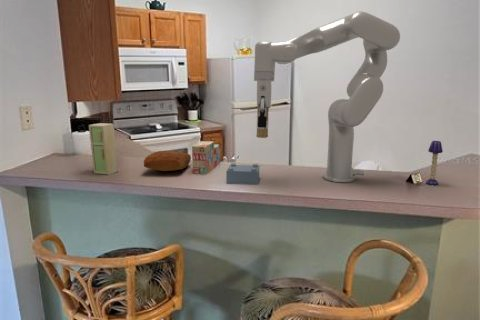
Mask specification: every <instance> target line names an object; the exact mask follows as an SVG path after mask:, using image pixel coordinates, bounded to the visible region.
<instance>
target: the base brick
mask: <svg viewBox="0 0 480 320" xmlns="http://www.w3.org/2000/svg"><path fill="white" fill-rule="evenodd" d="M258 164H259V163H252V164H236V163H235V162H231V163H230V164H229V166H228V167H227V169H226V175H225V176H226V184H239V185H258V183H259V181H260V165H258Z"/></svg>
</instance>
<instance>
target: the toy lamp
mask: <svg viewBox="0 0 480 320" xmlns="http://www.w3.org/2000/svg"><path fill="white" fill-rule="evenodd" d="M442 145H443V144H442V141H439V140H432V141H431V143H430V144H429V147H428V152H429V153H432V158H431V159H432V160H431V168H430V177H429V179H427V180H426V181H425V184H426V185H429V186H432V185H434V186H436V185H437V186H439V182H438V180H437V179H436V174H437V173H436V172H437V163H438V158H439V157H438V155H439V154H442V153H443V152H444V151H443V146H442ZM434 186H433V187H434Z"/></svg>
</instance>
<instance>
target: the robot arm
mask: <svg viewBox="0 0 480 320" xmlns="http://www.w3.org/2000/svg"><path fill="white" fill-rule="evenodd" d="M358 38H359V39H362V43H363V44H362V45H363V49H364V53H365V55H364V60H363V62H362V64H361V65H360V66H359V68H358V69H357V71H356V73H355V74H354V75H353V76H352V78H351V80H350V81H349V83H348V84H347V87H346V95H347V96H348V97H349V98H348V99H345V98H340V99H337V100H334V101H333V102H332V103H331V104H330V105H329V108H328V112H327V118H328V119H327V120H328V143H327V144H328V145H327V146H328V147H327V160H326V161H327V163H326V172H324V173H322V178H323V179H324V180H326V181H329V182H334V183H350V182H354V181H355V179H356V176H364V174H365V171H364V170H360V169H354V168H353V166H352V165H353V155H354V154H353V153H354V152H353V151H354V137H355V129H354V127H358V126H359V125H361V124H362V123H363V122H364V121H365V120H366V119H367V117H368V116H369V115H370V113H371V112H372V110H373V109H374V108H375V106H376V105H377V104H378V102H379V100H380V99H381V98H382V95H383V92H384V84H383V81H382V79H381V77H382V76H383V74H384V73H385V71H386V69H387V66H388V53H387V51H389V50H392V49H394V48H396V46H397V45H398V44H399V42H400V39H401V32H400V30H399V29H398V27H396V26H395V25H394V24H392V23H390V22H388V21H386V20H384V19H381V18H379V17H377V16H375V15H373V14H370V13H368V12H364V11H356V12H354V13H351V14H349V15H346V16H344V17H342V18H339V19H336V20H334V21H332V22H329V23H327V24H323V25H321V26H318V27H316V28H313V29H312V30H310V31H308V32H305V33H304V34H301V35H299V36H297V37H295V38H292V39H290V40H288V41H282V42H281V41H279V42H272V41H259V42H257V43H255V46H254V71H253V73H254V74H253V76H254V77H253V81H254V82H256V107H258V108H259V116H258V127H266V123H267V117H266V107H268V109H269V110H270V108H271V105H272V82H275V72H276V63H277V64H279V65H287V64H291V63H294V61H296V60H297V59H300V58H302V57H305V56H308V55H311V54H312V55H313V54H317V53H318V54H319V53H320V52H323V51H327V50H329V49H332V48H334V47H336V46H338V45H341V44H344V43H347V42H349V41H352V40H354V39H358ZM265 105H266V106H265ZM260 106H261V108H260ZM264 106H265V108H264ZM258 108H257V109H258Z"/></svg>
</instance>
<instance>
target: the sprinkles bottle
mask: <svg viewBox="0 0 480 320" xmlns="http://www.w3.org/2000/svg"><path fill="white" fill-rule="evenodd" d="M265 106H266V105H265ZM265 106H264V108H265ZM256 107H257V106H256ZM260 108H261V106H260ZM269 110H270V108H269V109H268V107H266V117H267V123H266V127H258V116H259V108H258V107H257V112H256V113H257V114H256V138H259V139H266V138H268V136H269Z"/></svg>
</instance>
